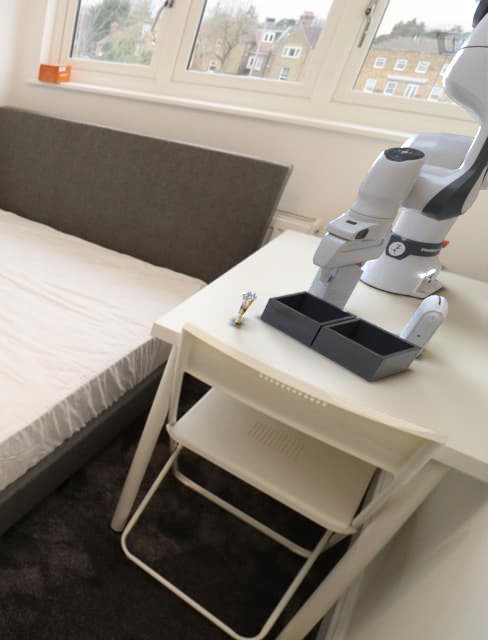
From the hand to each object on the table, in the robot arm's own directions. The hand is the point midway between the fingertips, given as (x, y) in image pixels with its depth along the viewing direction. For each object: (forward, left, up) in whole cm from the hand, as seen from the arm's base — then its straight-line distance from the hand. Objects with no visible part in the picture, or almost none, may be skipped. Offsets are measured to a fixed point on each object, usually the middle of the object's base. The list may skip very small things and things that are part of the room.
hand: (336, 279), depth 123 cm
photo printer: (-3, +19, -9) cm, 21 cm away
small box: (0, 0, -7) cm, 7 cm away
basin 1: (+13, +5, -9) cm, 16 cm away
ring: (+27, -2, -9) cm, 28 cm away
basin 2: (+13, +18, -9) cm, 24 cm away
